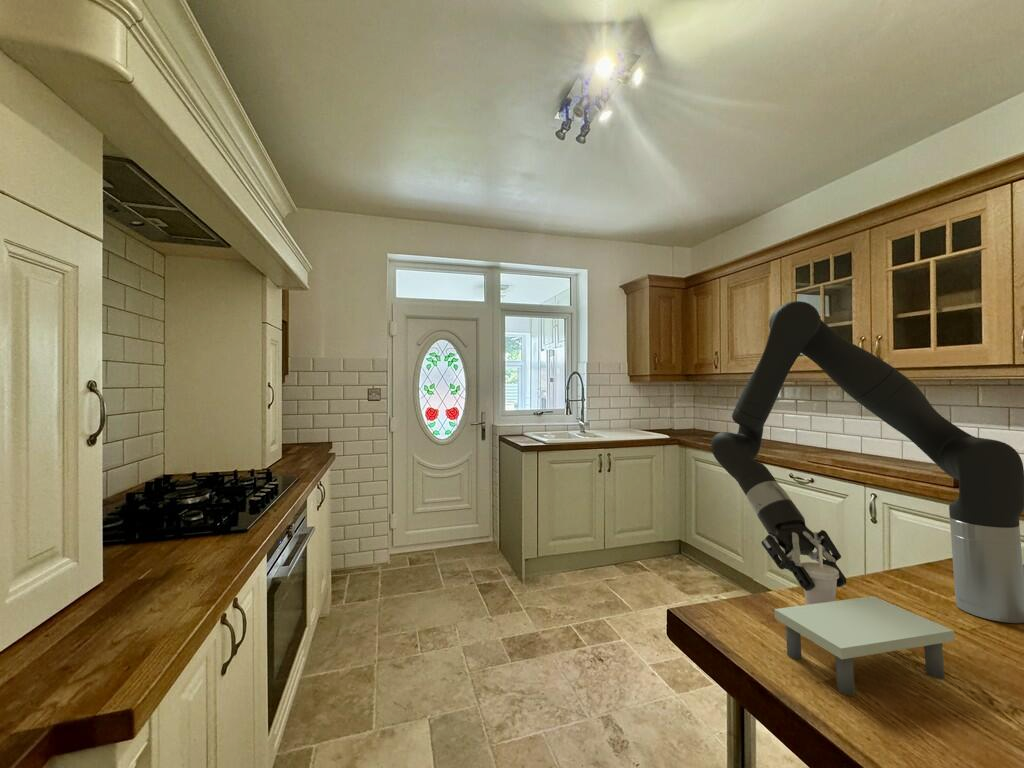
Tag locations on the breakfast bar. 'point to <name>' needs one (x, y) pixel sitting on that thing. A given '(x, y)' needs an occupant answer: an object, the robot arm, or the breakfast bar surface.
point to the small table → (863, 633)
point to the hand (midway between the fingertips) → (826, 586)
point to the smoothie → (821, 581)
